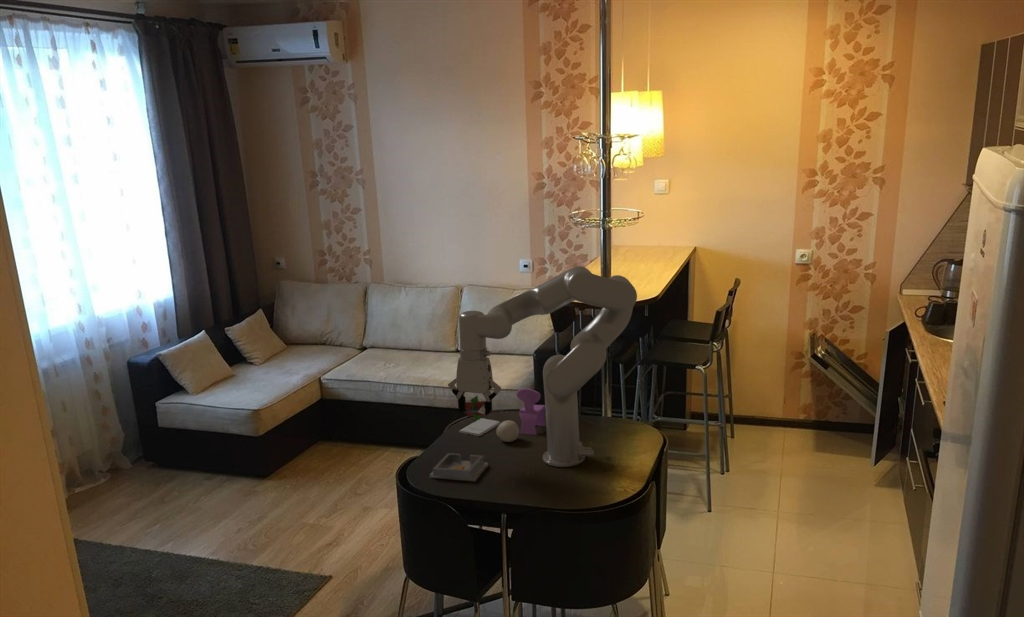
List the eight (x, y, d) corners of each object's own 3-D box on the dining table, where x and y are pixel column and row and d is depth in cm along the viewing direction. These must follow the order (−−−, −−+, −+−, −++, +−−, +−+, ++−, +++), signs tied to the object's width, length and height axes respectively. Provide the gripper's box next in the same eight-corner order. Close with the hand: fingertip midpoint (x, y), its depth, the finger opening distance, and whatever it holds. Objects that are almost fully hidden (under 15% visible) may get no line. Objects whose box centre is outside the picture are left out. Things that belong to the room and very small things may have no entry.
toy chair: (549, 425, 260) (547, 382, 257) (539, 435, 253) (537, 391, 250) (526, 423, 264) (524, 381, 261) (516, 433, 256) (513, 389, 253)
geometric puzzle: (454, 410, 229) (472, 395, 225) (465, 402, 235) (482, 388, 231) (469, 429, 228) (487, 414, 224) (479, 421, 234) (497, 407, 230)
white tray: (488, 465, 232) (487, 455, 231) (475, 481, 221) (474, 471, 220) (444, 462, 236) (443, 452, 235) (429, 478, 225) (428, 468, 225)
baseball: (498, 437, 253) (497, 417, 252) (521, 437, 252) (519, 417, 251) (495, 445, 247) (493, 425, 246) (518, 445, 246) (516, 425, 244)
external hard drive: (500, 425, 265) (479, 438, 255) (480, 422, 269) (459, 434, 259) (500, 421, 265) (478, 433, 254) (480, 417, 269) (458, 429, 259)
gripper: (506, 352, 226) (507, 410, 230) (450, 348, 232) (453, 405, 236) (496, 359, 219) (498, 419, 223) (440, 355, 225) (442, 413, 229)
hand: (475, 411), depth 230 cm, fingers closed on geometric puzzle, 7 cm apart
